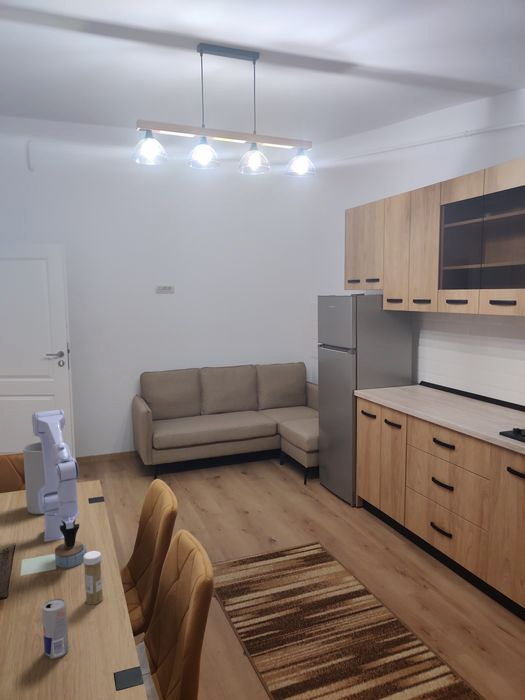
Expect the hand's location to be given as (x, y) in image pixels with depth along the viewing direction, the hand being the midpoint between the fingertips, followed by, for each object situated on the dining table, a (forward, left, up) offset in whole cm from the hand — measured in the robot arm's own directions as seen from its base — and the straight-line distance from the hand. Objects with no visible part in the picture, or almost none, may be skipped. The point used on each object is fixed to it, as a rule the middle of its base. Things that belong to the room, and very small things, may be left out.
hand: (70, 540), depth 165 cm
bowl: (0, 0, -7) cm, 7 cm away
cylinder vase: (-46, -8, -7) cm, 47 cm away
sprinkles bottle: (+25, +5, -7) cm, 26 cm away
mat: (-1, -9, -7) cm, 12 cm away
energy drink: (+43, -5, -7) cm, 44 cm away
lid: (0, 0, -3) cm, 3 cm away
